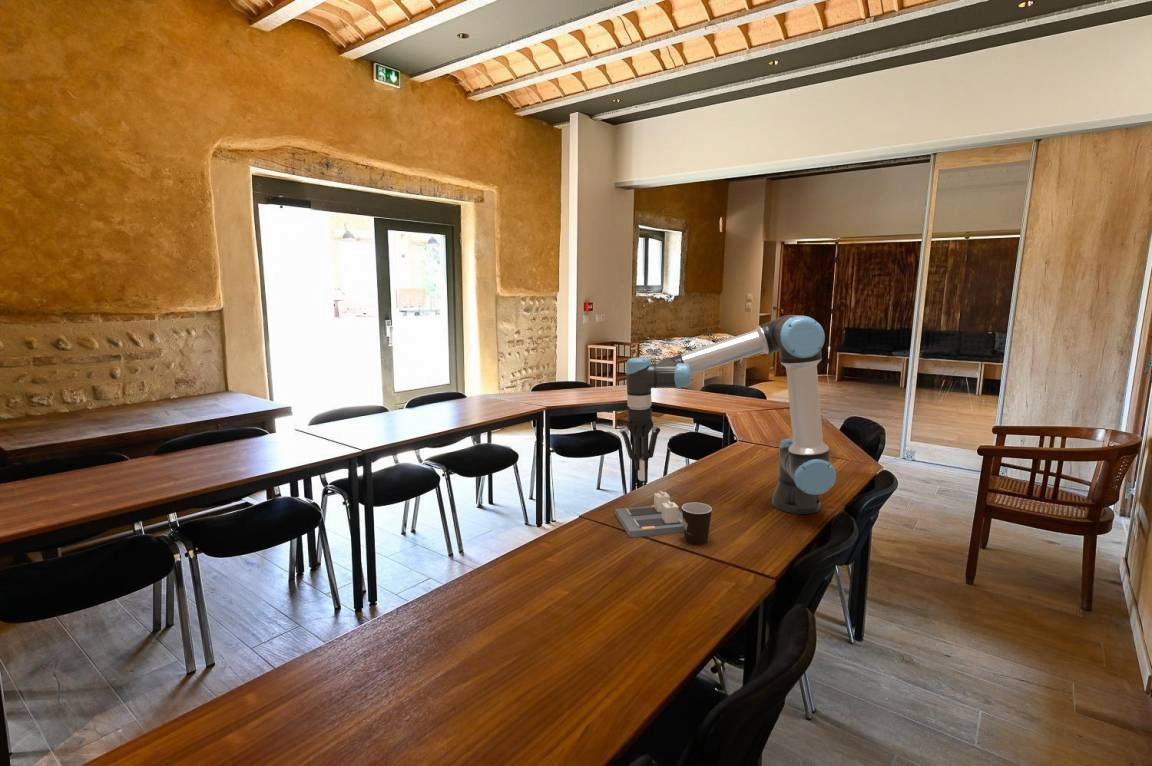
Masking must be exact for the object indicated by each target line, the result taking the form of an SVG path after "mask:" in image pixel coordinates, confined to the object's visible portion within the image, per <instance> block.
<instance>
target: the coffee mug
mask: <svg viewBox="0 0 1152 766" xmlns="http://www.w3.org/2000/svg"><path fill="white" fill-rule="evenodd" d="M681 512H682V515H683V524H684V540H685V542H686V543H687V544H689V545H693V546H703V545H706V544H707V543H708V539H709V534H710V525H711V518H712V512H713V508H712V507H711V506H710V505H709V504H706V503H703V502H686V503H684V504H682V505H681Z"/></svg>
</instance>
